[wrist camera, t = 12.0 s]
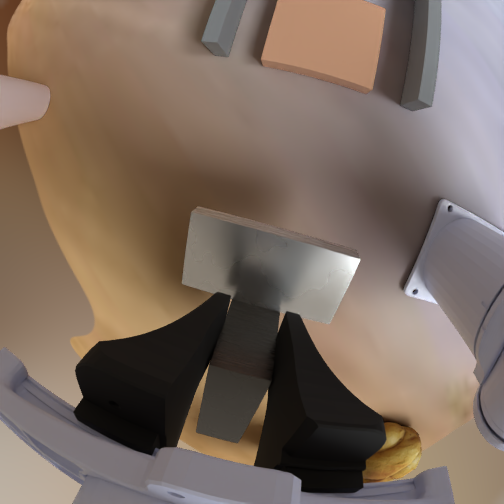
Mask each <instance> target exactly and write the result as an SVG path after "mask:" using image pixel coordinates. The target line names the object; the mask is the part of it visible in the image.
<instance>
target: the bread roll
mask: <svg viewBox="0 0 504 504" xmlns="http://www.w3.org/2000/svg"><path fill="white" fill-rule="evenodd" d="M384 426H385V432H386V438H387V440H386V442H385V444H384V445H383V447H382V448H381V449H380V450H379V451H377V452H376V453H375V454H374V455H372V456H371V457H370V458H369V459H367V460H366V470H364V471H362V473H363V483H376V482H388V481H393V480H394V479H398V478H402V477H403V476H404V475H406V474H408V473H409V472H411V471H412V470H414V469H415V468H416V467H417V465H418V462H419V460H420V457H421V451H422V449H421V440H420V437H419V434H418V433H417V432H416V431H415V430H414V429H412V428H410V427H402V426H400V425H399V424H397V423H391V422H386V423H384Z"/></svg>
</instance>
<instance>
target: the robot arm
mask: <svg viewBox="0 0 504 504" xmlns="http://www.w3.org/2000/svg"><path fill="white" fill-rule="evenodd" d="M448 206H450V210H449V211H448ZM414 289H416V291H415V292H413V290H414ZM404 292H405V294H406V295H407V296H411V297H414V298H418V299H421V300H425V301H429V302H432V303H436V304H439V306H440V307H441V308H442V310H443V311H444V313H445V314H446V315H447V317H448V318H449V319H450V321H451V322H452V324H453V325H454V327H455V328H456V329H457V331H458V332H459V334H460V335H461V337H462V338H463V340H464V341H465V343H466V344H467V346H468V347H469V349H470V350H471V352H472V353H473V355H474V357H475V358H476V360H477V364H476V368H475V370H474V372H473V373H474V374H475V376H476V378H477V380H478V382H479V384H480V386H479V388H478V389H477V391H476V394H475V397H474V401H473V414H474V418H475V422H476V424H477V427H478V429H479V431H480V433H481V434H482V436H483V437H484V438H485V439H486V440H487V441H488V442H489V443H490V444H491V445H493V446H494V447H495V448H497V449H499V450H502V451H504V232H503V231H501V230H500V229H498V228H497V227H495V226H493V225H492V224H490V223H488V222H487V221H485V220H483V219H482V218H480V217H478V216H476V215H475V214H473V213H471V212H469V211H467V210H465V209H464V208H462V207H460V206H458V205H456V204H454V203H452V202H450V201H448V200H446V199H441V200H440V201H439V203H438V206H437V209H436V212H435V215H434V218H433V221H432V223H431V226H430V229H429V231H428V234H427V236H426V239H425V241H424V244H423V246H422V249H421V251H420V254H419V256H418V258H417V261H416V263H415V265H414V267H413V269H412V272H411V274H410V276H409V278H408V280H407V282H406V284H405V286H404ZM230 299H231V295H228V294H225V293H221V292H216V293H215V294H214V295H213V296H211V297H210V298H209V299H208V300H207V301H205V302H204V303H203V304H201V305H200V306H199V307H197V308H196V309H194V310H193V311H191V312H190V313H188V314H187V315H185V316H183V317H182V318H180V319H178V320H176V321H174V322H173V323H171V324H168V325H166V326H164V327H162V328H159V329H157V330H154V331H151V332H148V333H145V334H142V335H138V336H134V337H129V338H124V339H117V340H109V341H99V342H98V343H97V344H96V345H95V346H94V347H92V348H91V349H90V350H89V352H88V353H87V354H86V355H85V356H84V357H83V359H82V360H81V361H80V362H79V363H78V364H77V366H76V370H75V372H76V377H77V380H78V384H79V386H80V389H81V392H82V395H83V399H82V400H81V401H80V403H79V404H78V406H77V407H76V408H75V407H73V406H72V405H70V404H68V403H67V402H65V401H64V400H62V399H61V398H59V397H58V396H56V395H55V394H53V393H52V392H51V391H49V390H48V389H46V388H45V387H43V386H42V385H41V384H39V383H38V382H37V381H35V380H34V379H33V378H32V377H30V376H29V375H28V372H27V370H26V368H25V366H24V364H23V363H22V361H21V360H20V359H19V358H17V357H16V356H15V355H14V354H13V353H12V352H10V351H9V350H8V349H7V348H5V347H4V348H3V349H2V350H0V420H1V421H2V422H3V423H4V424H6V425H7V426H8V427H9V428H10V429H11V430H12V431H13V432H14V433H15V434H16V435H17V436H18V437H19V438H20V439H22V440H23V441H24V442H25V443H26V444H27V445H28V446H30V447H31V448H32V449H33V450H35V451H36V452H37V453H38V454H39V455H41V456H42V457H43V458H44V459H46V460H47V461H48V462H49V463H51V464H52V465H53V466H55V467H56V468H58V469H59V470H61V471H62V472H63V473H65V474H66V475H68V476H69V477H70V478H72V479H74V480H75V481H77V482H78V483H80V484H81V485H82V486H81V488H80V490H79V492H78V494H77V496H76V497H75V500H74V501H73V503H72V504H455V503H454V498H453V492H452V488H451V483H450V479H449V475H448V470H447V467H446V466H443V467H438V468H432V469H428V470H426V471H423V472H421V473H420V474H418V475H417V476H416V477H415V478H412V479H406V480H397V481H388V482H376V483H363V473H362V471H364V470H366V460H367V459H369V458H370V457H371V456H372V455H374V454H375V453H376V452H377V451H379V450H380V449H381V448H382V447H383V445H384V444H385V442H386V440H387V438H386V432H385V426H384V422H383V418H382V416H381V415H379V414H378V413H376V412H375V411H374V410H372V409H371V408H369V407H368V406H366V405H365V404H364V403H363V402H361V401H360V400H359V399H358V398H357V397H356V396H354V395H353V394H352V393H351V392H350V391H349V390H348V389H347V388H346V387H345V386H344V385H343V384H342V383H341V382H340V380H339V379H338V378H337V377H336V376H335V375H334V373H333V372H332V371H331V370H330V368H329V367H328V366H327V364H326V363H325V361H324V360H323V358H322V357H321V355H320V354H319V352H318V350H317V349H316V347H315V345H314V343H313V341H312V339H311V337H310V335H309V333H308V331H307V329H306V327H305V325H304V323H303V321H302V318H301V316H300V314H297V313H293V312H289V311H286V313H285V316H284V318H283V321H282V324H281V326H280V329H279V331H278V334H277V339H276V347H275V360H274V369H273V377H272V382H271V384H270V386H269V388H268V402H267V410H266V415H265V420H264V425H263V430H262V434H261V439H260V443H259V447H258V452H257V456H256V460H255V463H254V466H251V465H246V464H241V463H236V462H232V461H228V460H224V459H220V458H216V457H212V456H209V455H205V454H202V453H198V452H195V451H190V450H187V449H182V448H178V447H177V444H178V440H179V438H180V435H181V432H182V429H183V426H184V423H185V420H186V417H187V415H188V412H189V409H190V406H191V403H192V401H193V398H194V395H195V392H196V390H197V387H198V385H199V383H200V381H201V379H202V377H203V375H204V373H205V371H206V369H207V367H208V365H209V363H210V361H211V358H212V355H213V353H214V350H215V347H216V344H217V341H218V338H219V336H220V333H221V331H222V328H223V325H224V323H225V319H226V315H227V311H228V307H229V303H230Z"/></svg>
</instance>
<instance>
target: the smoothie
mask: <svg viewBox="0 0 504 504" xmlns="http://www.w3.org/2000/svg"><path fill="white" fill-rule="evenodd" d="M49 102H50V90H49V88H48V86H46V85H43V84H39V83H35V82H31V81H27V80H23V79H18V78H14V77H9V76H4V75H0V129H3V128H6V127H10V126H14V125H18V124H22V123H26V122H30V121H35V120H39V119H41V118H42V117H43V116H44V114H45V113H46V111H47V109H48V106H49Z"/></svg>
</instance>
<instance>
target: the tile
mask: <svg viewBox="0 0 504 504" xmlns="http://www.w3.org/2000/svg"><path fill="white" fill-rule="evenodd" d="M385 11H386V9H385V8H382V7H380V6H377V5H375V4H372V3H369V2H366V1H363V0H278V1H277V4H276V8H275V11H274V14H273V18H272V21H271V25H270V28H269V32H268V35H267V39H266V42H265V46H264V49H263V53H262V57H261V61H262V64H263V66H265V67H270V68H275V69H280V70H285V71H289V72H294V73H298V74H302V75H306V76H310V77H314V78H317V79H321V80H325V81H328V82H331V83H335V84H338V85H341V86H344V87H347V88H350V89H353V90H356V91H359V92H362V93H364V94H367V93H368V92H370V91H371V90H372V89H373V85H374V80H375V74H376V69H377V64H378V58H379V52H380V46H381V40H382V33H383V26H384V19H385Z"/></svg>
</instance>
